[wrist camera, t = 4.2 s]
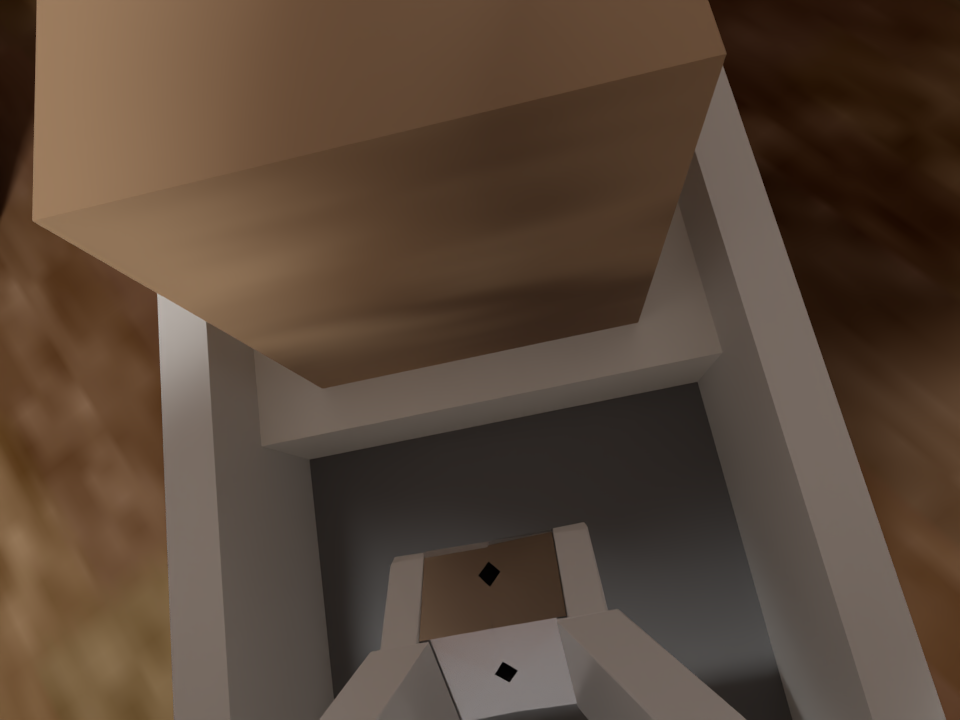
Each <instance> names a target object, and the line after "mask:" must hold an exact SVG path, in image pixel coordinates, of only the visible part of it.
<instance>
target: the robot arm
mask: <svg viewBox="0 0 960 720" xmlns="http://www.w3.org/2000/svg"><path fill="white" fill-rule="evenodd" d="M553 534H554V535H553ZM570 704H577V706H578V708H579V709H580V710H581V711H582V713H583V714H584V715H585V716H586V717H587V719H588V720H746V719H745V718H744V717H743V716H742V715H741V714H739V713H738V712H737V711H736V710H735V709H734V708H733V707H731V706H730V705H729V704H728V703H727V702H726V701H724V700H723V699H722V698H721V697H720V696H719V695H717V694H716V693H715V692H714V691H713V690H712V689H710V688H709V687H708V686H707V685H706V684H705V683H704V682H702V681H701V680H700V679H699V678H698V677H697V676H695V675H694V674H693V673H692V672H691V671H690V670H688V669H687V668H686V667H685V666H684V665H683V664H682V663H680V662H679V661H678V660H677V659H676V658H675V657H673V656H672V655H671V654H670V653H669V652H668V651H666V650H665V649H664V648H663V647H662V646H661V645H660V644H658V643H657V642H656V641H655V640H654V639H653V638H651V637H650V636H649V635H648V634H647V633H646V632H644V631H643V630H642V629H641V628H640V627H639V626H638V625H636V624H635V623H634V622H633V621H632V620H631V619H629V618H628V617H627V616H626V615H625V614H624V613H622V612H621V611H620V610H619V609H614V610H608V608H607V604H606V600H605V596H604V592H603V588H602V584H601V580H600V576H599V572H598V568H597V564H596V560H595V556H594V551H593V547H592V543H591V539H590V535H589V531H588V527H587V525H586V524H585V523H584V522H582V523H577V524H572V525H567V526H562V527H557V528H553V531H552V529H547V530H542V531H537V532H532V533H527V534H521V535H516V536H511V537H506V538H501V539H496V540H491V541H488V542H482V543H475V544H469V545H463V546H457V547H450V548H444V549H438V550H432V551H427V552H424V553H417V554H411V555H405V556H398V557H395V558H394V560H393V562H392V564H391V566H390V575H389V583H388V591H387V599H386V607H385V615H384V623H383V631H382V640H381V648H380V650H378V651H373V652H370V653H369V655H368V656H367V657H366V659H365V660H364V661H363V662H362V664H361V665H360V666H359V668H358V669H357V670H356V672H355V673H354V674H353V676H352V677H351V678H350V680H349V681H348V682H347V684H346V685H345V686H344V688H343V689H342V690H341V691H340V693H339V694H338V695H337V697H336V698H335V699H334V701H333V702H332V703H331V705H330V706H329V707H328V709H327V710H326V711H325V713H324V714H323V715H322V717H321V718H320V719H319V720H476V719H482V718H487V717H492V716H497V715H502V714H508V713H513V712H518V711H525V710H533V709H540V708H548V707H555V706H563V705H570Z"/></svg>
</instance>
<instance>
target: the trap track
mask: <svg viewBox="0 0 960 720" xmlns="http://www.w3.org/2000/svg"><path fill="white" fill-rule="evenodd" d="M157 296H158V322H159V347H160V373H161V399H162V424H163V450H164V476H165V501H166V527H167V553H168V578H169V604H170V630H171V656H172V681H173V707H174V720H319V719H320V718H321V717H322V715H323V714H324V713H325V711H326V710H327V709H328V707H329V706H330V705H331V703H332V702H333V701H334V699H335V698H336V697H337V695H338V694H339V693H340V691H341V690H342V689H343V688H344V686H345V685H346V684H347V682H348V681H349V680H350V678H351V677H352V676H353V674H354V673H355V672H356V670H357V669H358V668H359V666H360V665H361V664H362V662H363V661H364V660H365V659H366V657H367V656H368V655H369V653H370V652H373V651H378V650H380V648H381V640H382V631H383V623H384V615H385V607H386V599H387V591H388V583H389V575H390V566H391V564H392V562H393V560H394V558H395V557H398V556H405V555H411V554H417V553H424V552H427V551H432V550H438V549H444V548H450V547H457V546H463V545H469V544H475V543H482V542H488V541H491V540H496V539H501V538H506V537H511V536H516V535H521V534H527V533H532V532H537V531H542V530H547V529H552V531H553V528H557V527H562V526H567V525H572V524H577V523H582V522H584V523H585V524H586V525H587V527H588V531H589V535H590V539H591V543H592V547H593V551H594V556H595V560H596V564H597V568H598V572H599V576H600V580H601V584H602V588H603V592H604V596H605V600H606V604H607V608H608V610H614V609H619V610H620V611H621V612H622V613H624V614H625V615H626V616H627V617H628V618H629V619H631V620H632V621H633V622H634V623H635V624H636V625H638V626H639V627H640V628H641V629H642V630H643V631H644V632H646V633H647V634H648V635H649V636H650V637H651V638H653V639H654V640H655V641H656V642H657V643H658V644H660V645H661V646H662V647H663V648H664V649H665V650H666V651H668V652H669V653H670V654H671V655H672V656H673V657H675V658H676V659H677V660H678V661H679V662H680V663H682V664H683V665H684V666H685V667H686V668H687V669H688V670H690V671H691V672H692V673H693V674H694V675H695V676H697V677H698V678H699V679H700V680H701V681H702V682H704V683H705V684H706V685H707V686H708V687H709V688H710V689H712V690H713V691H714V692H715V693H716V694H717V695H719V696H720V697H721V698H722V699H723V700H724V701H726V702H727V703H728V704H729V705H730V706H731V707H733V708H734V709H735V710H736V711H737V712H738V713H739V714H741V715H742V716H743V717H744V718H745V719H746V720H946V718H945V715H944V712H943V709H942V706H941V703H940V701H939V698H938V695H937V692H936V689H935V686H934V683H933V680H932V677H931V674H930V671H929V668H928V665H927V662H926V659H925V657H924V654H923V651H922V648H921V645H920V642H919V639H918V636H917V633H916V630H915V627H914V624H913V621H912V618H911V615H910V613H909V610H908V607H907V604H906V601H905V598H904V595H903V592H902V589H901V586H900V583H899V580H898V577H897V574H896V571H895V569H894V566H893V563H892V560H891V557H890V554H889V551H888V548H887V545H886V542H885V539H884V536H883V533H882V530H881V527H880V525H879V522H878V519H877V516H876V513H875V510H874V507H873V504H872V501H871V498H870V495H869V492H868V489H867V486H866V483H865V481H864V478H863V475H862V472H861V469H860V466H859V463H858V460H857V457H856V454H855V451H854V448H853V445H852V442H851V439H850V437H849V434H848V431H847V428H846V425H845V422H844V419H843V416H842V413H841V410H840V407H839V404H838V401H837V398H836V395H835V393H834V390H833V387H832V384H831V381H830V378H829V375H828V372H827V369H826V366H825V363H824V360H823V357H822V354H821V351H820V349H819V346H818V343H817V340H816V337H815V334H814V331H813V328H812V325H811V322H810V319H809V316H808V313H807V310H806V307H805V305H804V302H803V299H802V296H801V293H800V290H799V287H798V284H797V281H796V278H795V275H794V272H793V269H792V266H791V263H790V261H789V258H788V255H787V252H786V249H785V246H784V243H783V240H782V237H781V234H780V231H779V228H778V225H777V222H776V219H775V217H774V214H773V211H772V208H771V205H770V202H769V199H768V196H767V193H766V190H765V187H764V184H763V181H762V178H761V175H760V173H759V170H758V167H757V164H756V161H755V158H754V155H753V152H752V149H751V146H750V143H749V140H748V137H747V134H746V131H745V129H744V126H743V123H742V120H741V117H740V114H739V111H738V108H737V105H736V102H735V99H734V96H733V93H732V90H731V87H730V85H729V82H728V79H727V76H726V73H725V70H724V67H723V66H722V69H721V72H720V75H719V78H718V81H717V84H716V87H715V90H714V94H713V97H712V100H711V103H710V106H709V109H708V112H707V115H706V118H705V121H704V124H703V127H702V130H701V133H700V136H699V139H698V142H697V145H696V148H695V151H694V154H693V157H692V160H691V163H690V166H689V170H688V173H687V176H686V179H685V182H684V185H683V188H682V191H681V194H680V197H679V200H678V203H677V206H676V209H675V212H674V215H673V218H672V221H671V224H670V227H669V230H668V233H667V236H666V239H665V243H664V246H663V249H662V252H661V255H660V258H659V261H658V264H657V267H656V270H655V273H654V276H653V279H652V282H651V285H650V288H649V291H648V294H647V297H646V300H645V303H644V306H643V309H642V312H641V315H640V319H639V322H638V323H633V324H629V325H624V326H619V327H614V328H610V329H605V330H600V331H595V332H591V333H586V334H581V335H576V336H571V337H567V338H562V339H557V340H552V341H548V342H543V343H538V344H533V345H528V346H524V347H519V348H514V349H509V350H505V351H500V352H495V353H490V354H486V355H481V356H476V357H471V358H466V359H462V360H457V361H452V362H447V363H443V364H438V365H433V366H428V367H423V368H419V369H414V370H409V371H404V372H400V373H395V374H390V375H385V376H381V377H376V378H371V379H366V380H361V381H357V382H352V383H347V384H342V385H338V386H333V387H328V388H323V389H322V388H320V387H319V386H317V385H315V384H313V383H312V382H310V381H308V380H306V379H305V378H303V377H301V376H300V375H298V374H296V373H294V372H293V371H291V370H289V369H287V368H286V367H284V366H282V365H281V364H279V363H277V362H275V361H274V360H272V359H270V358H268V357H267V356H265V355H263V354H262V353H260V352H258V351H256V350H255V349H253V348H251V347H249V346H248V345H246V344H244V343H242V342H241V341H239V340H237V339H236V338H234V337H232V336H230V335H229V334H227V333H225V332H223V331H222V330H220V329H218V328H217V327H215V326H213V325H211V324H210V323H208V322H206V321H204V320H203V319H201V318H199V317H198V316H196V315H194V314H192V313H191V312H189V311H187V310H185V309H184V308H182V307H180V306H179V305H177V304H175V303H173V302H172V301H170V300H168V299H166V298H165V297H163V296H161V295H160V294H158V293H157ZM553 535H554V534H553ZM476 720H588V719H587V717H586V716H585V715H584V714H583V713H582V711H581V710H580V709H579V708H578V706H577V704H570V705H563V706H555V707H548V708H540V709H533V710H525V711H518V712H513V713H508V714H502V715H497V716H492V717H487V718H482V719H476Z"/></svg>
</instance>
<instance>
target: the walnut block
mask: <svg viewBox="0 0 960 720" xmlns="http://www.w3.org/2000/svg"><path fill="white" fill-rule="evenodd" d="M726 54H727V53H726V50H725V47H724V44H723V42H722V39H721V36H720V33H719V30H718V27H717V24H716V21H715V18H714V16H713V13H712V10H711V7H710V4H709V1H708V0H37V16H36V65H35V114H34V163H33V212H32V221H33V222H35V223H37V224H39V225H40V226H42V227H44V228H45V229H47V230H49V231H51V232H52V233H54V234H56V235H58V236H59V237H61V238H63V239H64V240H66V241H68V242H70V243H71V244H73V245H75V246H77V247H78V248H80V249H82V250H83V251H85V252H87V253H89V254H90V255H92V256H94V257H96V258H97V259H99V260H101V261H102V262H104V263H106V264H108V265H109V266H111V267H113V268H115V269H116V270H118V271H120V272H122V273H123V274H125V275H127V276H128V277H130V278H132V279H134V280H135V281H137V282H139V283H141V284H142V285H144V286H146V287H147V288H149V289H151V290H153V291H154V292H156V293H158V294H160V295H161V296H163V297H165V298H166V299H168V300H170V301H172V302H173V303H175V304H177V305H179V306H180V307H182V308H184V309H185V310H187V311H189V312H191V313H192V314H194V315H196V316H198V317H199V318H201V319H203V320H204V321H206V322H208V323H210V324H211V325H213V326H215V327H217V328H218V329H220V330H222V331H223V332H225V333H227V334H229V335H230V336H232V337H234V338H236V339H237V340H239V341H241V342H242V343H244V344H246V345H248V346H249V347H251V348H253V349H255V350H256V351H258V352H260V353H262V354H263V355H265V356H267V357H268V358H270V359H272V360H274V361H275V362H277V363H279V364H281V365H282V366H284V367H286V368H287V369H289V370H291V371H293V372H294V373H296V374H298V375H300V376H301V377H303V378H305V379H306V380H308V381H310V382H312V383H313V384H315V385H317V386H319V387H320V388H322V389H323V388H328V387H333V386H338V385H342V384H347V383H352V382H357V381H361V380H366V379H371V378H376V377H381V376H385V375H390V374H395V373H400V372H404V371H409V370H414V369H419V368H423V367H428V366H433V365H438V364H443V363H447V362H452V361H457V360H462V359H466V358H471V357H476V356H481V355H486V354H490V353H495V352H500V351H505V350H509V349H514V348H519V347H524V346H528V345H533V344H538V343H543V342H548V341H552V340H557V339H562V338H567V337H571V336H576V335H581V334H586V333H591V332H595V331H600V330H605V329H610V328H614V327H619V326H624V325H629V324H633V323H638V322H639V319H640V315H641V312H642V309H643V306H644V303H645V300H646V297H647V294H648V291H649V288H650V285H651V282H652V279H653V276H654V273H655V270H656V267H657V264H658V261H659V258H660V255H661V252H662V249H663V246H664V243H665V239H666V236H667V233H668V230H669V227H670V224H671V221H672V218H673V215H674V212H675V209H676V206H677V203H678V200H679V197H680V194H681V191H682V188H683V185H684V182H685V179H686V176H687V173H688V170H689V166H690V163H691V160H692V157H693V154H694V151H695V148H696V145H697V142H698V139H699V136H700V133H701V130H702V127H703V124H704V121H705V118H706V115H707V112H708V109H709V106H710V103H711V100H712V97H713V94H714V90H715V87H716V84H717V81H718V78H719V75H720V72H721V69H722V66H723V63H724V60H725V57H726Z"/></svg>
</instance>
